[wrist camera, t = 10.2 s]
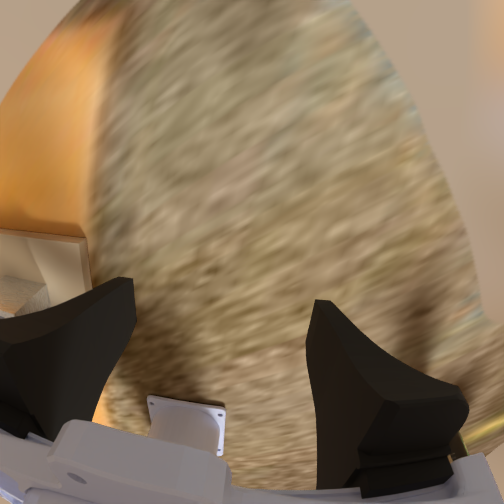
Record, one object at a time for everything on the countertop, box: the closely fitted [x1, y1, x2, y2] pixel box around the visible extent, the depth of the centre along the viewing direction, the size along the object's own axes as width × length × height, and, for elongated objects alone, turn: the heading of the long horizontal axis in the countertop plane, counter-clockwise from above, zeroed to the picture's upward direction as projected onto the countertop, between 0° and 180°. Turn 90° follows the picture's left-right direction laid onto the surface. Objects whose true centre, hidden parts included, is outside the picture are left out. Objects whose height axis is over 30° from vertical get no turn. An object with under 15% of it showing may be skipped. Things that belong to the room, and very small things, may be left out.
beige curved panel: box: [0, 228, 92, 319], centre depth 23 cm, size 14×14×5 cm
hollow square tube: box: [0, 275, 51, 318], centre depth 22 cm, size 6×6×5 cm
